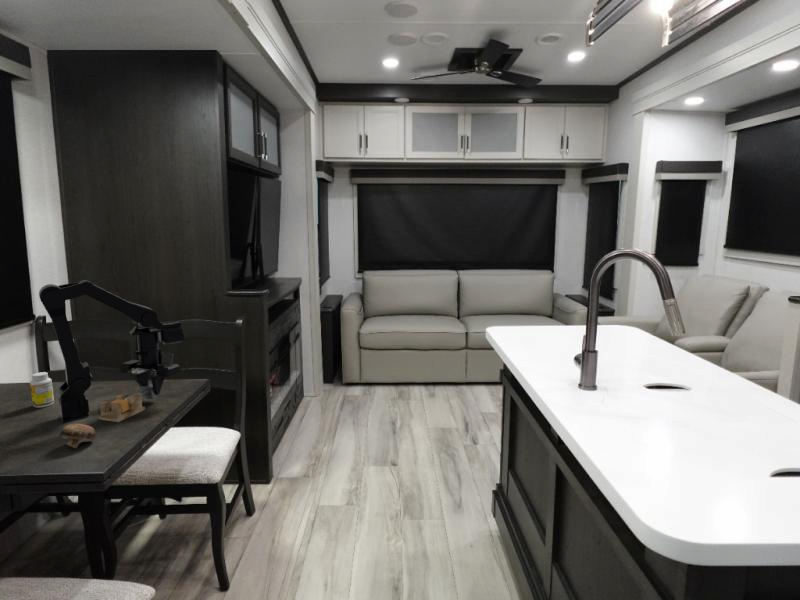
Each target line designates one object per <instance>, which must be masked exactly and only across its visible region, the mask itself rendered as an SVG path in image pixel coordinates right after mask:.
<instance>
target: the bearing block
mask: <svg viewBox="0 0 800 600" xmlns="http://www.w3.org/2000/svg"><path fill="white" fill-rule="evenodd" d="M132 395H133V396H132ZM132 395H131V393H130V392H124V393H121V394H119V395H116V396H115V397H114V398H115V400H116V399H125V398H127V397H128V398H127V400H128V404H129V410H127V411H125V412H123V413H121V405H120V403H114V404H110V401H105V400H103V401H101V402H99V408H100V415H99V416H98V419H99V420H101V421H109V422H115V423H120V422H122V421H124V420H126V419H128V418H130V417H132V416H135V415H137V414H139V413H141V412H143V411H145V410H146V408H145V407H146V406H143V401H142V399H143V398H141V394H137V393H135V395H134V394H132ZM129 396H131V397H129ZM111 405H112V409H111V410H110V406H111Z"/></svg>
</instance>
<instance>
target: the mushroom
mask: <svg viewBox="0 0 800 600" xmlns="http://www.w3.org/2000/svg"><path fill="white" fill-rule="evenodd" d="M59 435H60V437H61V438H63V439H65V440H67V442H66V446H69V447H71V448H73V449H77V448H78V447H79V445H80V444H81V443H83V442H84V443H87V442H92V441H94V440H95V439H96V438H97V433H96V430H95V429H94V427H92V426H90V425H88V424H82V423H70V424H67V425H65V426H64V427H63V428H62V429H61V431H60V432H59Z"/></svg>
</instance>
